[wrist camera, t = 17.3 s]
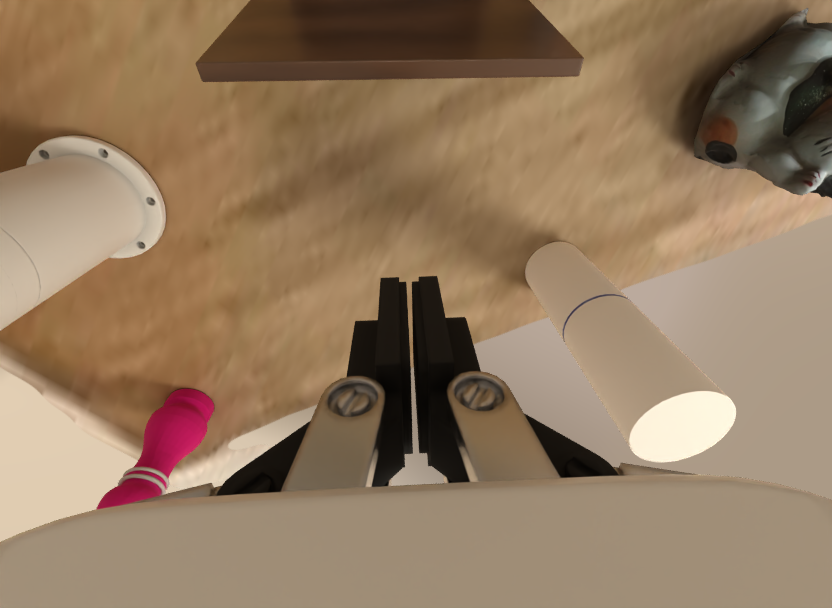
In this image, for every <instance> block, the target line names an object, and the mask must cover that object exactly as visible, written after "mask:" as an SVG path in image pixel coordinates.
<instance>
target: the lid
mask: <svg viewBox="0 0 832 608" xmlns="http://www.w3.org/2000/svg"><path fill="white" fill-rule="evenodd" d="M583 60H584V57H583V56H582V55H581V54H580V53H579V52H578V51H577V50H576V49H575V48H574V47H573V46H572V45H571V44H570V43H569V42H568V41H567V40H566V39H565V38H564V37H563V35H562V34H561V33H560V32H559V31H558V30H557V29H556V28H555V27H554V26H553V25H552V24H551V23H550V22H549V21H548V20H547V19H546V18H545V17H544V16H543V15H542V13H541V12H540V11H539V10H538V9H537V8H536V7H535V6H534V5H533V4H532V3H531V2H530V1H529V0H250V1H249V3H248V4H247V5H246V6H245V7H244V8H243V9H242V11H241V12H240V13H239V14H238V15H237V16H236V17H235V19H234V20H233V21H232V22H231V23H230V24H229V25H228V27H227V28H226V29H225V30H224V31H223V32H222V33H221V35H220V36H219V37H218V38H217V39H216V40H215V41H214V43H213V44H212V45H211V46H210V47H209V48H208V49H207V51H206V52H205V53H204V54H203V55H202V56H201V57H200V59H199V60H198V61H197V62H196V66H197V69H198V71H199V74H200V77H201V79H202V81H203V82H239V81H305V80H370V79H436V78H502V77H568V76H579V74H580V70H581V67H582V63H583Z"/></svg>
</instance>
